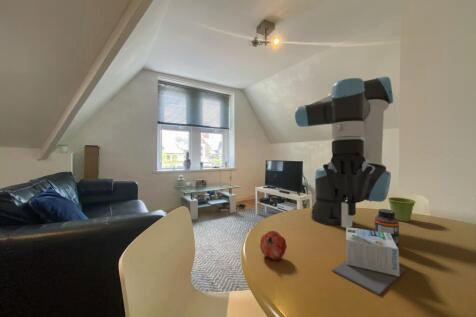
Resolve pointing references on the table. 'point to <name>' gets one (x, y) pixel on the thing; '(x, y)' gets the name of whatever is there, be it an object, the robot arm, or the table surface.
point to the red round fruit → (273, 245)
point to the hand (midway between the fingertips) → (346, 226)
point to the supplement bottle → (388, 224)
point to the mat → (366, 277)
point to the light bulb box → (372, 251)
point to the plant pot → (402, 208)
